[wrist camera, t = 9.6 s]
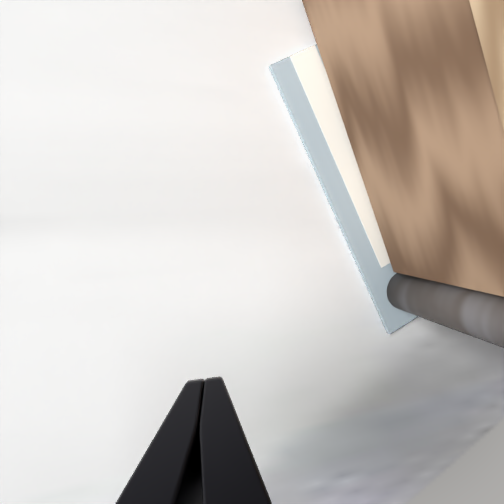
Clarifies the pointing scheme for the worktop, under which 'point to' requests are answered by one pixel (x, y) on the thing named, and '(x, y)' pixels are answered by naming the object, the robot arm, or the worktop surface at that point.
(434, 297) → the panel
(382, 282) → the card
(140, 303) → the worktop surface
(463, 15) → the fence swing panel
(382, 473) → the worktop surface
